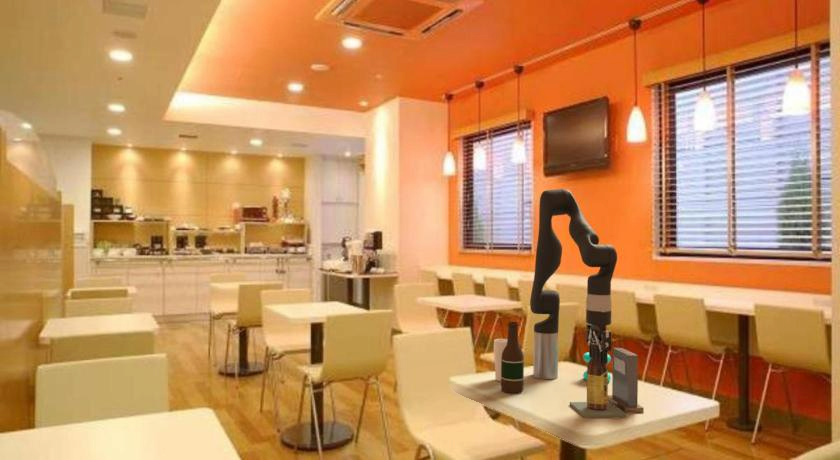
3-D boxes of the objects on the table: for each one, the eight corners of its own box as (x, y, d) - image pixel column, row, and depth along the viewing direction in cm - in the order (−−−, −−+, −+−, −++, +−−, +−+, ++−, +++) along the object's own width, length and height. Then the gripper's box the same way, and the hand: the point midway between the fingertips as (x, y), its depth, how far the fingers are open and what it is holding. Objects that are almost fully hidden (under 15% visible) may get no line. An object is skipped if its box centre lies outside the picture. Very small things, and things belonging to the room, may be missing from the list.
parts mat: (569, 405, 189) (569, 402, 189) (608, 404, 190) (608, 401, 190) (584, 417, 176) (584, 414, 176) (626, 417, 177) (626, 414, 177)
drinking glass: (512, 382, 217) (513, 342, 217) (494, 382, 217) (494, 341, 217) (510, 378, 224) (510, 338, 224) (492, 377, 224) (492, 338, 224)
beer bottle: (509, 386, 211) (510, 319, 211) (528, 391, 205) (528, 322, 205) (496, 390, 205) (497, 322, 205) (514, 395, 200) (515, 324, 200)
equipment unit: (606, 399, 196) (607, 347, 196) (623, 399, 196) (624, 347, 196) (624, 412, 182) (625, 356, 182) (643, 412, 182) (644, 356, 182)
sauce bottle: (608, 411, 179) (609, 346, 180) (587, 410, 181) (588, 345, 181) (606, 405, 186) (606, 342, 186) (585, 404, 187) (586, 341, 187)
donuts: (609, 352, 226) (612, 357, 216) (609, 378, 226) (611, 384, 216) (582, 350, 228) (583, 355, 219) (582, 376, 228) (583, 382, 219)
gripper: (578, 305, 190) (578, 355, 190) (595, 311, 176) (595, 366, 176) (601, 305, 191) (600, 355, 191) (620, 311, 176) (619, 365, 177)
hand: (598, 360), depth 183 cm, fingers open, 8 cm apart
